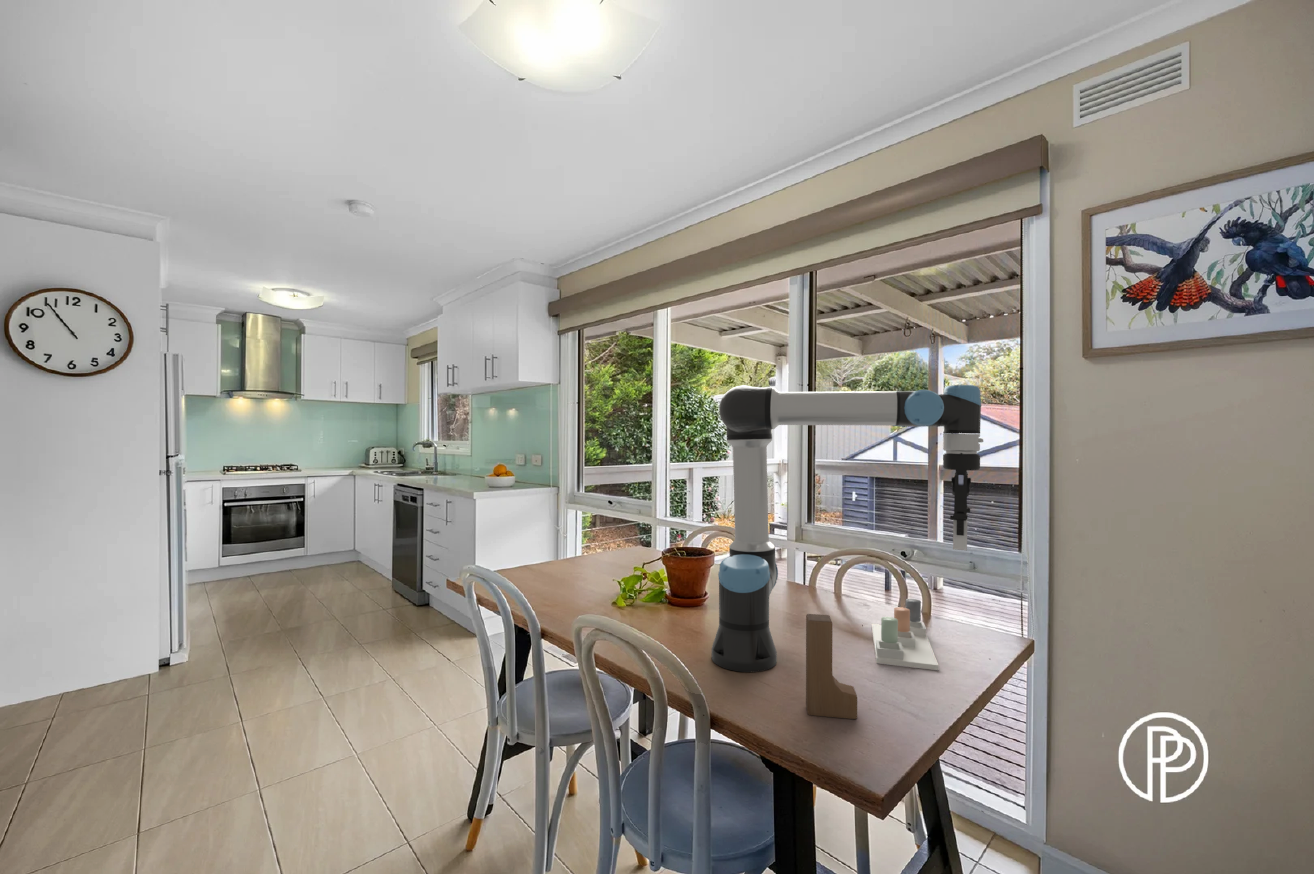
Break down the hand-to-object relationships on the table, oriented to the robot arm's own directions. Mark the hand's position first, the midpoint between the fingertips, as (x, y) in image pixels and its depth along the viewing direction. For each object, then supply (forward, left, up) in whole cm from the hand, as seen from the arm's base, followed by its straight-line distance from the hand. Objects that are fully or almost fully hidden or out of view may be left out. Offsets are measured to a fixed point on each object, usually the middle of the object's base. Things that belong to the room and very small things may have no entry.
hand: (960, 544), depth 132 cm
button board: (-12, +6, -28) cm, 31 cm away
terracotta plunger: (-12, +6, -23) cm, 27 cm away
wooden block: (-28, -34, -28) cm, 52 cm away
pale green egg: (-15, -3, -23) cm, 28 cm away
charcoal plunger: (-8, +15, -23) cm, 29 cm away
